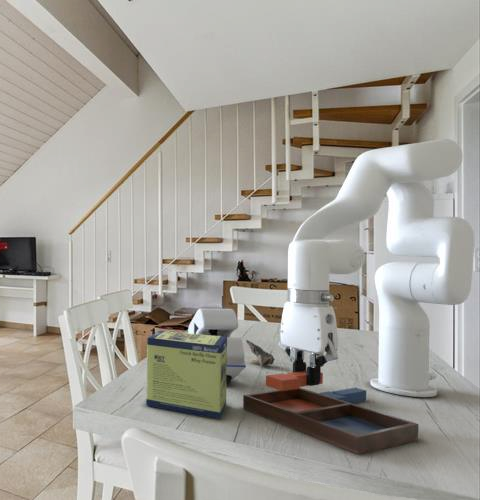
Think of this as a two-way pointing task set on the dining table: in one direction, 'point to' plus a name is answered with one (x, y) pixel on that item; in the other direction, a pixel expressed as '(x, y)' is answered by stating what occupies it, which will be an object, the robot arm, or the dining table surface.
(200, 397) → the protein box
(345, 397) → the blue tall stepped post
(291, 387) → the orange stepped bar
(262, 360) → the shark head
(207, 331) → the robotic device
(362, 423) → the cutlery tray
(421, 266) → the robot arm
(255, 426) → the dining table surface
